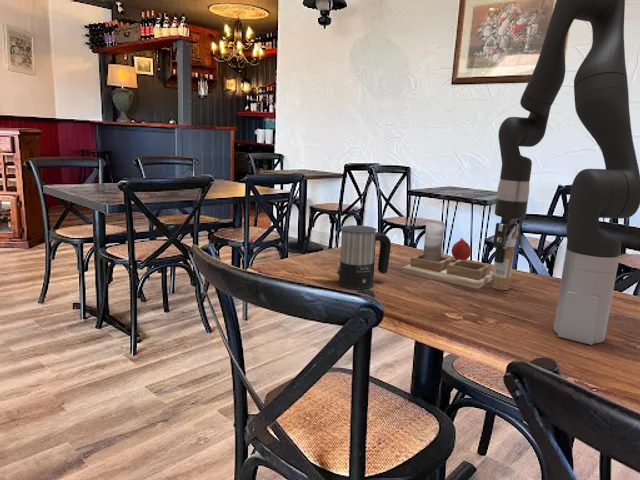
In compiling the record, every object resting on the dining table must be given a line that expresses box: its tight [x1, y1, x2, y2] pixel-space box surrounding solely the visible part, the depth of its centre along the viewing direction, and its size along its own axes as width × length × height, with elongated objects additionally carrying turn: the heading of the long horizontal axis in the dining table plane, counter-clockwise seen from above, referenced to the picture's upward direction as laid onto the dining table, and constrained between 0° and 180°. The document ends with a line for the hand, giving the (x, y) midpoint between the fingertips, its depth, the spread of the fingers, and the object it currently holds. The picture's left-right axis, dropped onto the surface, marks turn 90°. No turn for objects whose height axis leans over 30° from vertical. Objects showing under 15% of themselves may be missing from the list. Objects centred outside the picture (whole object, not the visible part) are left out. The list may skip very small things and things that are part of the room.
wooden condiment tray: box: [401, 220, 493, 290], centre depth 137 cm, size 15×22×14 cm
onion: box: [451, 237, 472, 261], centre depth 153 cm, size 6×6×8 cm
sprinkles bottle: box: [491, 238, 517, 291], centre depth 127 cm, size 5×5×14 cm
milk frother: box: [337, 224, 392, 290], centre depth 128 cm, size 14×16×15 cm
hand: (503, 259), depth 127 cm, fingers open, 8 cm apart
